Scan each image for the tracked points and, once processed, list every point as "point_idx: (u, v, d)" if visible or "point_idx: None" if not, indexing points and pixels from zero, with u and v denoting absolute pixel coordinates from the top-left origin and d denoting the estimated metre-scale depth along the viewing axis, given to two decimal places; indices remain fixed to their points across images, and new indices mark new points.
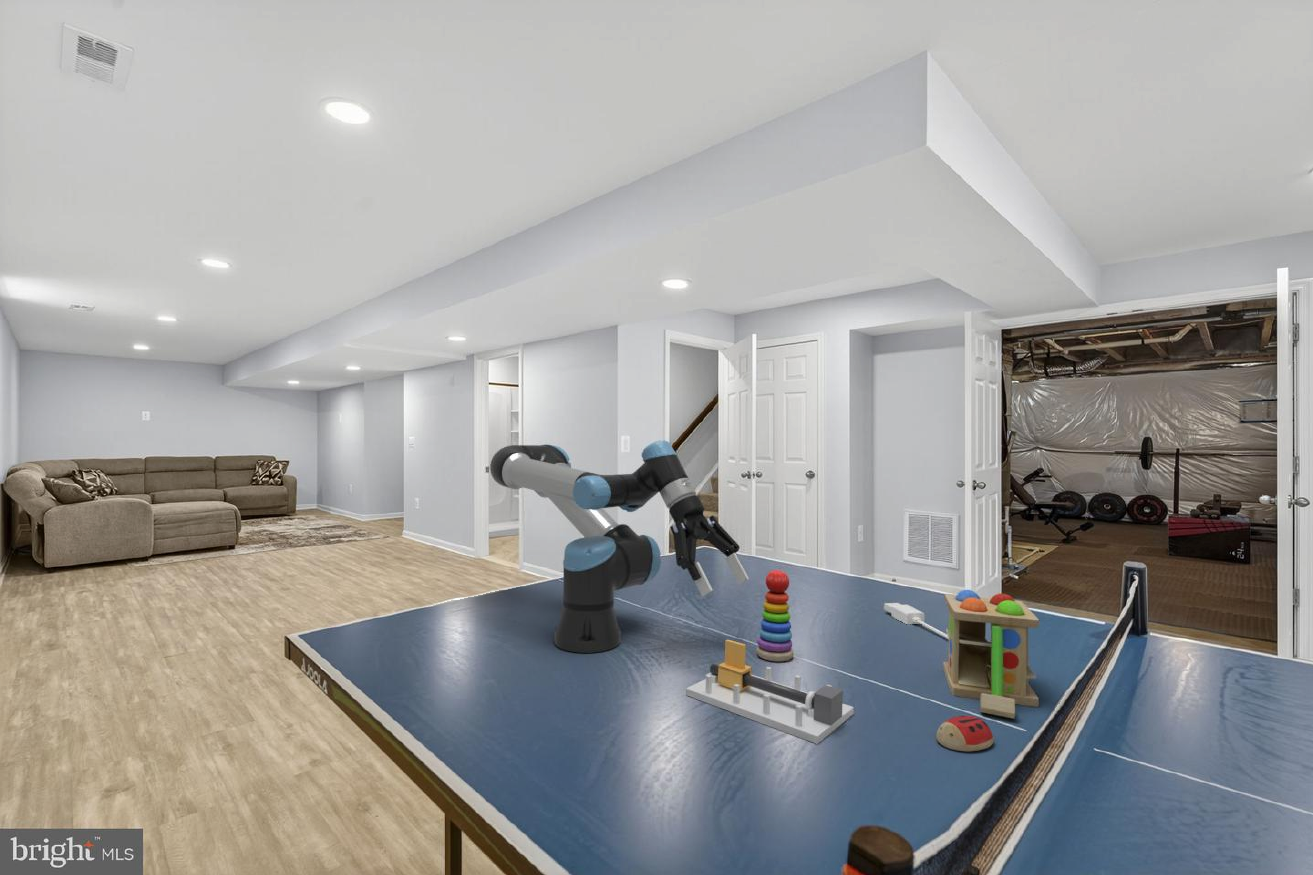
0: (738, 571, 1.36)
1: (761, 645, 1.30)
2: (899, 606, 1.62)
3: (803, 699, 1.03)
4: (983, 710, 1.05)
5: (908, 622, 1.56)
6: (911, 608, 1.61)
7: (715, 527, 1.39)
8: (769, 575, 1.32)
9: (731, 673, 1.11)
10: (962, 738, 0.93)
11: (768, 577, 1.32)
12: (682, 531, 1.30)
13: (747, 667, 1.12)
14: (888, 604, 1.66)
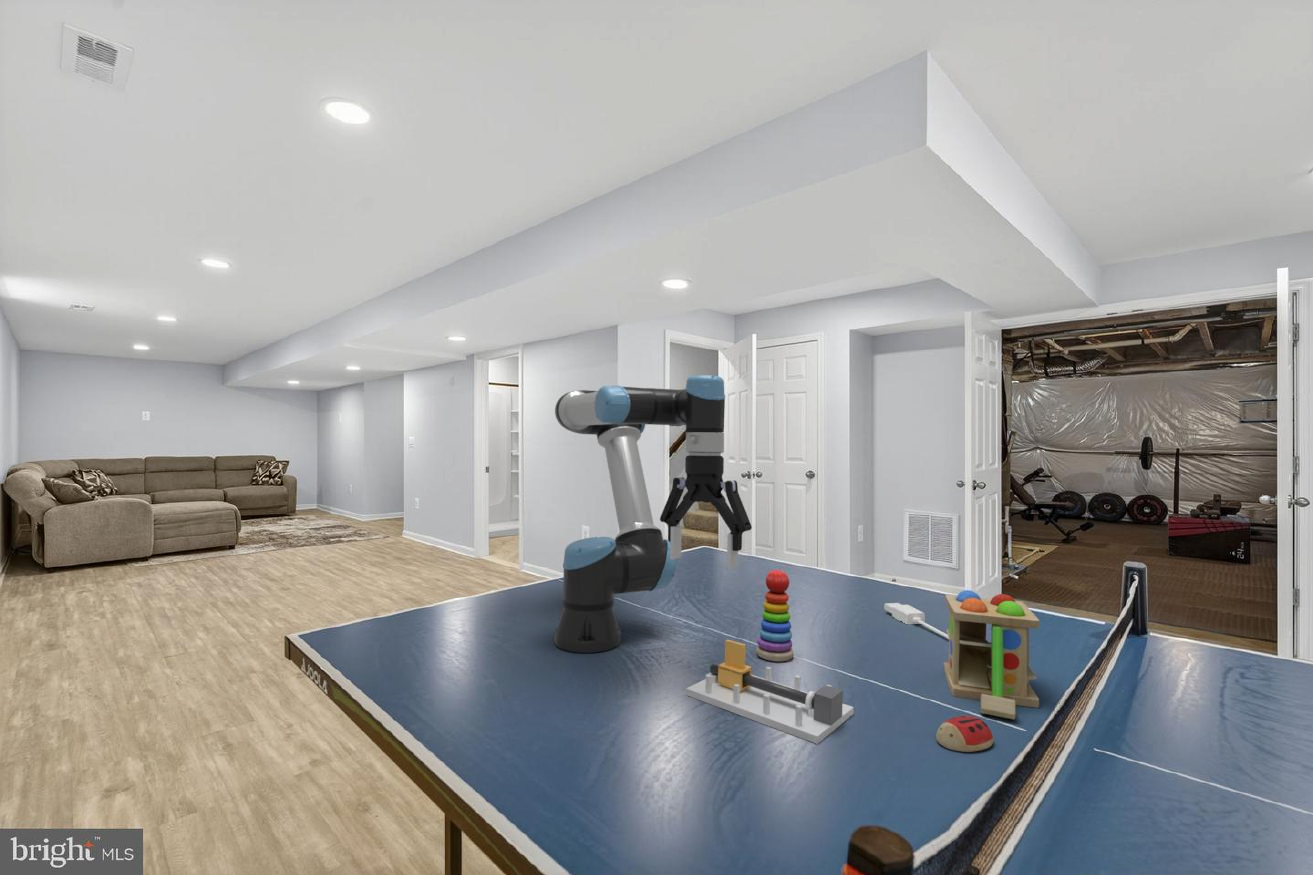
0: None
1: (761, 645, 1.30)
2: (899, 606, 1.62)
3: (803, 699, 1.03)
4: (983, 711, 1.05)
5: (909, 622, 1.56)
6: (911, 608, 1.60)
7: None
8: (769, 575, 1.32)
9: (731, 673, 1.11)
10: (962, 738, 0.93)
11: (768, 577, 1.32)
12: (673, 490, 1.22)
13: (747, 667, 1.12)
14: (888, 604, 1.66)
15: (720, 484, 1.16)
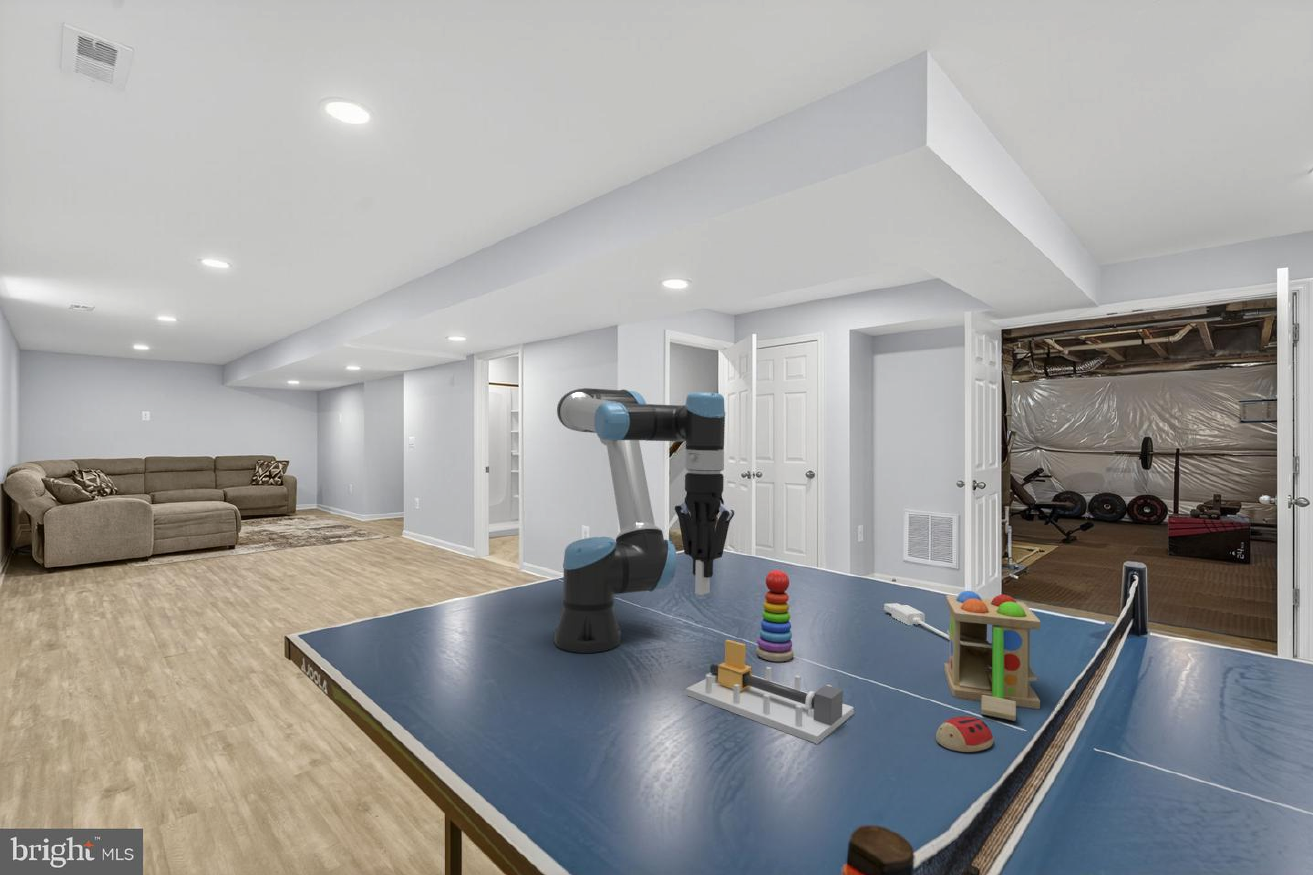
0: None
1: (761, 645, 1.30)
2: (899, 606, 1.62)
3: (803, 699, 1.03)
4: (984, 712, 1.05)
5: (909, 622, 1.56)
6: (911, 608, 1.60)
7: None
8: (769, 575, 1.32)
9: (731, 673, 1.11)
10: (962, 739, 0.93)
11: (768, 577, 1.32)
12: (680, 517, 1.20)
13: (747, 667, 1.12)
14: (888, 604, 1.66)
15: (719, 507, 1.15)
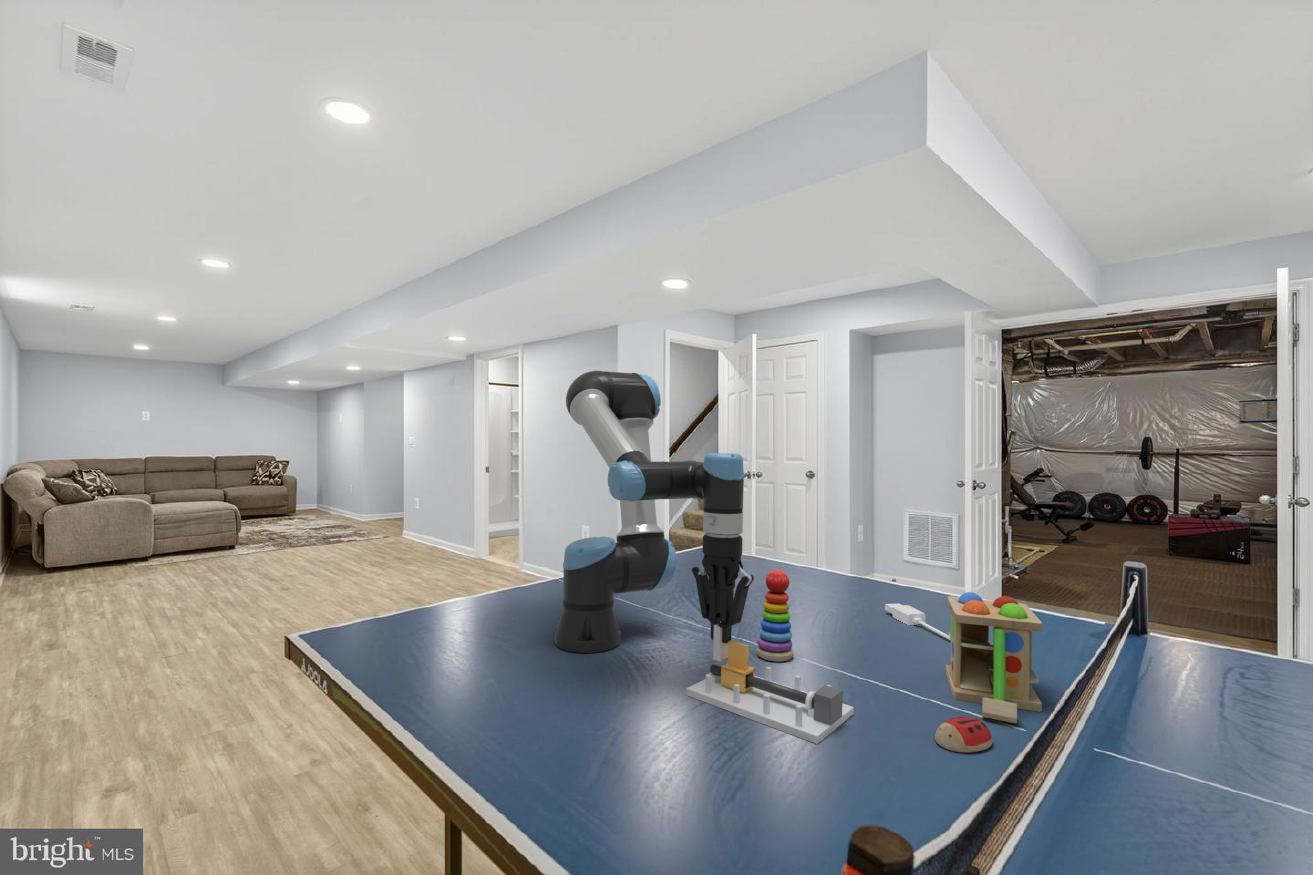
0: None
1: (761, 645, 1.30)
2: (900, 607, 1.61)
3: (803, 699, 1.03)
4: (985, 715, 1.04)
5: (909, 623, 1.56)
6: (912, 609, 1.60)
7: None
8: (769, 575, 1.32)
9: (734, 674, 1.11)
10: (961, 739, 0.93)
11: (768, 577, 1.32)
12: (698, 580, 1.17)
13: (750, 668, 1.12)
14: (889, 605, 1.66)
15: (738, 571, 1.12)
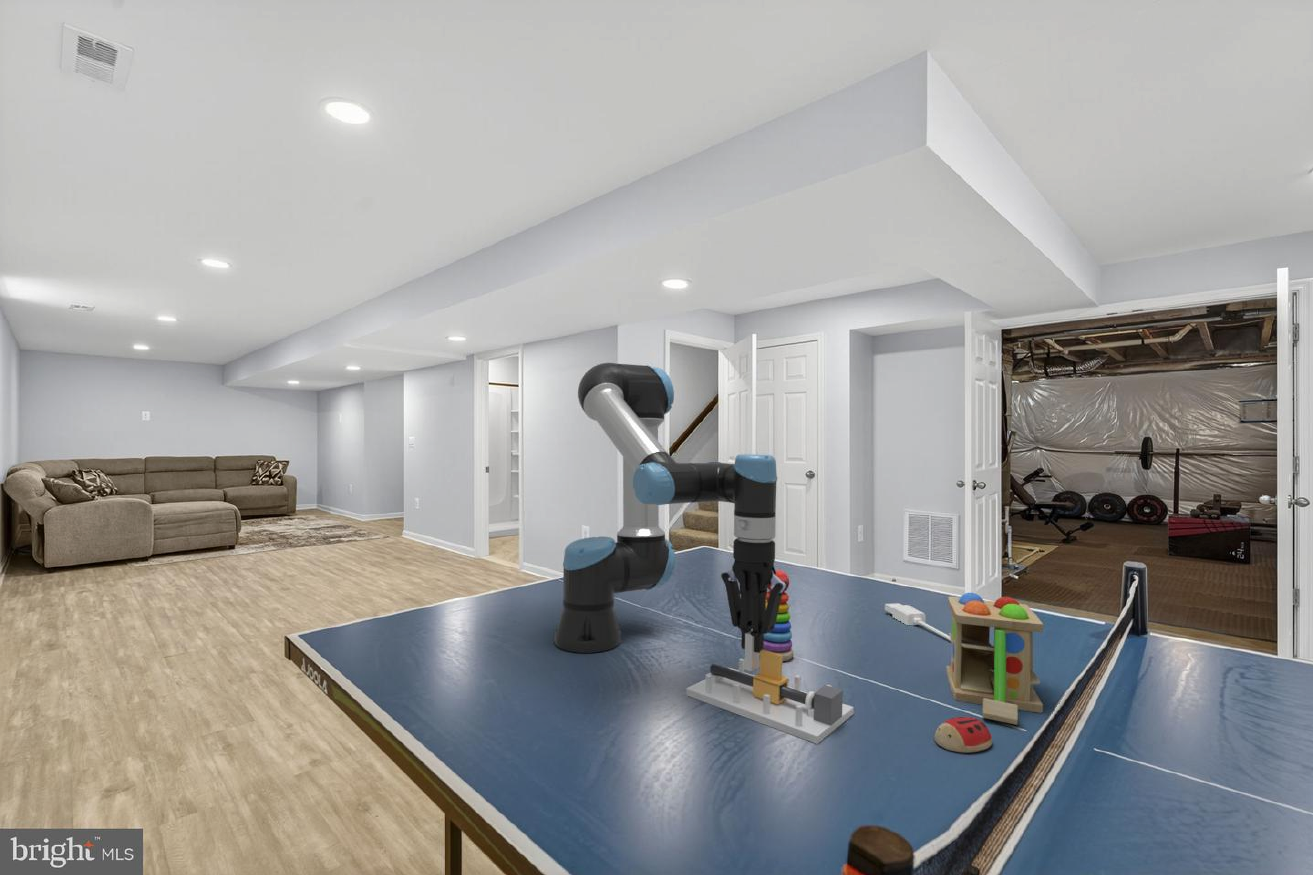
0: None
1: None
2: (900, 607, 1.61)
3: (803, 699, 1.03)
4: (985, 716, 1.03)
5: (909, 623, 1.56)
6: (912, 609, 1.60)
7: None
8: None
9: (767, 685, 1.06)
10: (960, 739, 0.93)
11: None
12: (728, 586, 1.12)
13: (784, 678, 1.07)
14: (889, 605, 1.65)
15: (771, 578, 1.07)
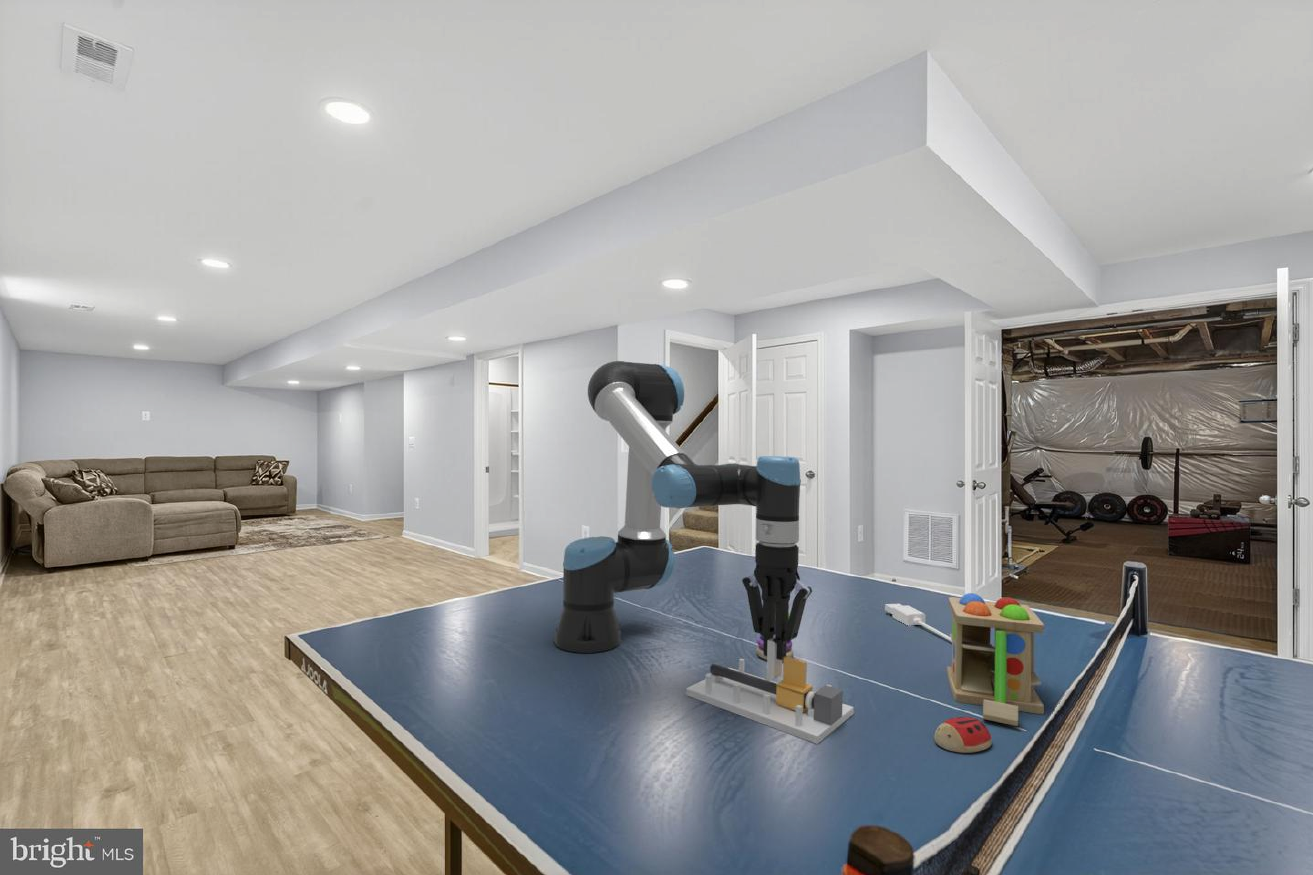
0: None
1: (761, 645, 1.30)
2: (900, 607, 1.61)
3: None
4: (985, 717, 1.03)
5: (909, 623, 1.55)
6: (912, 609, 1.60)
7: None
8: None
9: (791, 693, 1.03)
10: (960, 739, 0.93)
11: None
12: (749, 591, 1.09)
13: (808, 686, 1.04)
14: (889, 605, 1.65)
15: (795, 583, 1.04)
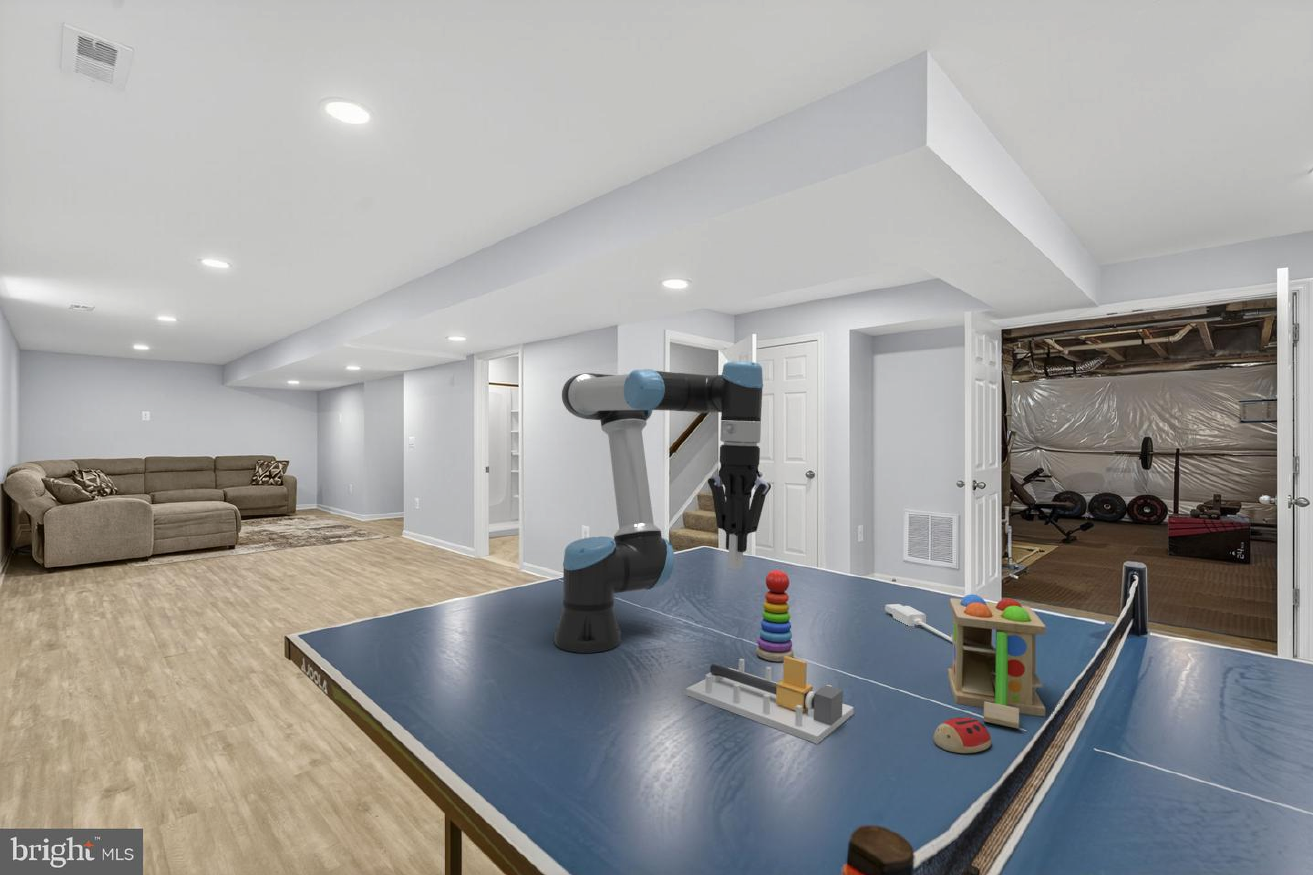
0: None
1: (761, 645, 1.30)
2: (900, 607, 1.61)
3: None
4: (986, 719, 1.02)
5: (910, 624, 1.55)
6: (912, 609, 1.59)
7: None
8: (769, 575, 1.32)
9: (791, 693, 1.03)
10: (959, 740, 0.93)
11: (768, 577, 1.32)
12: (714, 490, 1.17)
13: (808, 686, 1.04)
14: (889, 605, 1.65)
15: (755, 479, 1.11)
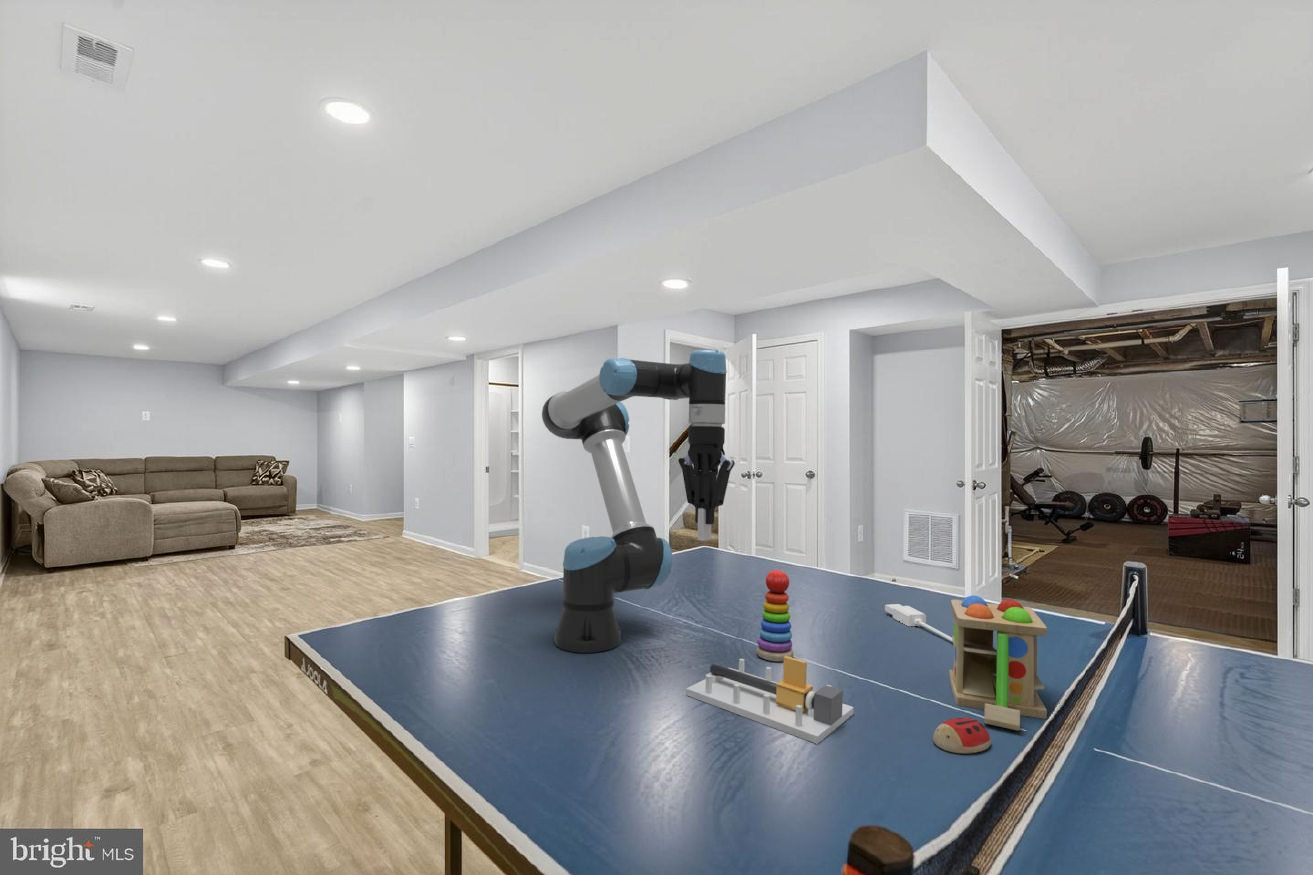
0: None
1: (761, 645, 1.30)
2: (900, 607, 1.60)
3: None
4: (987, 721, 1.01)
5: (910, 624, 1.55)
6: (912, 609, 1.59)
7: None
8: (769, 575, 1.32)
9: (791, 693, 1.03)
10: (959, 740, 0.93)
11: (768, 577, 1.32)
12: (684, 469, 1.27)
13: (808, 686, 1.04)
14: (889, 605, 1.65)
15: (720, 457, 1.22)
